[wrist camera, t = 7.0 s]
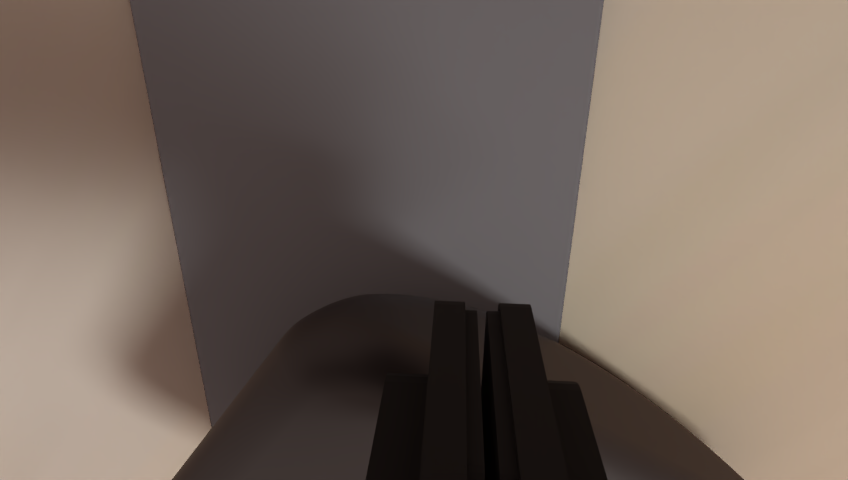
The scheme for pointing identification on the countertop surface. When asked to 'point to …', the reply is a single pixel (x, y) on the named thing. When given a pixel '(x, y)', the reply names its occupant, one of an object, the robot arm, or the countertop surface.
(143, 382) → the countertop surface
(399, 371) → the leaning round-cornered charcoal block
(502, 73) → the mat
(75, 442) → the countertop surface
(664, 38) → the countertop surface
